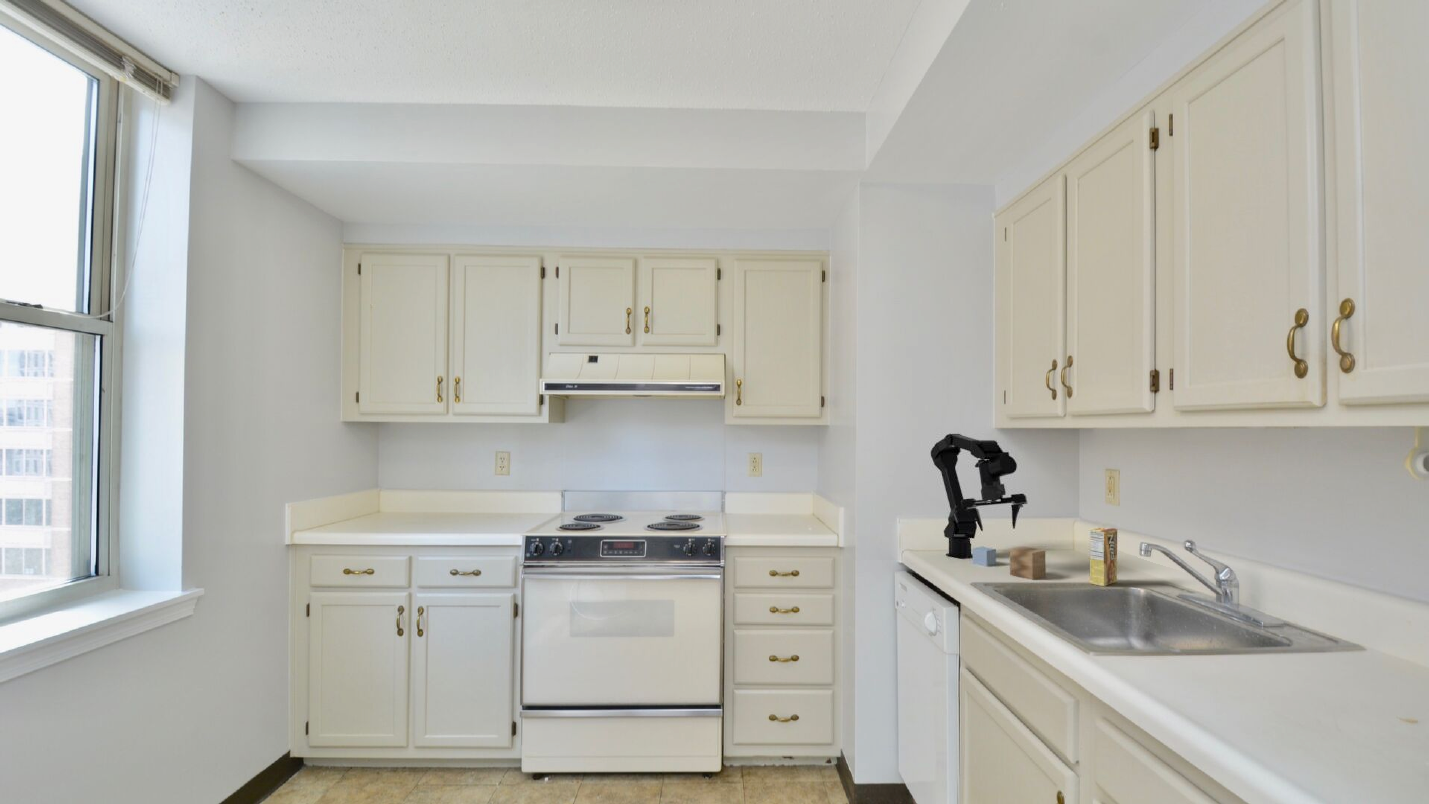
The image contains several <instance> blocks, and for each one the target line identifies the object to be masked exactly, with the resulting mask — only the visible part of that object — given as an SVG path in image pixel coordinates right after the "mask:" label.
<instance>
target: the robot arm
mask: <svg viewBox="0 0 1429 804" xmlns="http://www.w3.org/2000/svg"><path fill="white" fill-rule="evenodd" d="M961 450H965V451H967V452H970V455H971V456H972V457H974V458H976V459H978V460H977V462H976V463H975V465H974V467H975V469H976V468H977V469H978V471H979V473H978V474H979V479H980V485H981V486H980V487H981V489H980V493H981V499H979V500H978V499H976V498H974V497H973V498H964V495H963V492H962V489H961V484H960V481H959V478H958V473H957V470H956V466H957V463H958V462H959V458H958V456H959V455H960V453H961V452H962V451H961ZM930 457H931V459H932V461H933V464H934V466H935V467H936V468H937V470H939V471H940V474H941V476H942V481H943V484H944V488H945V493H946V497H947V501H948V504H949V508H950V512H949V515H948V517H947V520H948V523H947V525H946V527H945V528H944V529H943V534H944V535H943V536H944V538H947V539H948V552H947V553H945V556H949V557H953V558H957V559H966V558H971V557H972V558H973V554H972V542H971V539H975V537H976V533H977V527H979V529H980V531H981V532H984V527H983V524H982V523H983V522H982V520H981V519H982V518H981V514H980V510H979V508H978V507H981V506H982V507H984V506H992V505H994V506H995V505H1004V504H1011V519H1012V521H1011V522H1012V523H1011V524H1012V525H1011V526H1012V529H1016V524H1017V518H1018V514H1019V512H1020V509H1021V508H1023V507H1024V505H1027V504H1028V500H1027V499H1028V498H1027V495H1025V494H1024V493H1015V494H1013V493H1012V494H1010V497H1008V496H1007V497H1004V496H1006V493H1007V491H1006V487H1005V483H1001V477H1004V476H1008V475H1012V474H1014V473H1016V471H1017V468H1018V464H1017V462H1016V460H1015V459H1014V458H1013V457H1012V456H1010V453H1009V451H1003V449H1002V447H1001V446H1000V445H999V444H998V441H997V440H994V439H993V440H990V439H983V440H981V439H980V440H979V439H975V438H973V437H968V436H966V435H963V434H961V433H948V434H946V435H945V436H944V437H943V439H941V440H939V441H937V442H936V443H935V444H934V446H933V447H931V449H930Z"/></svg>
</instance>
